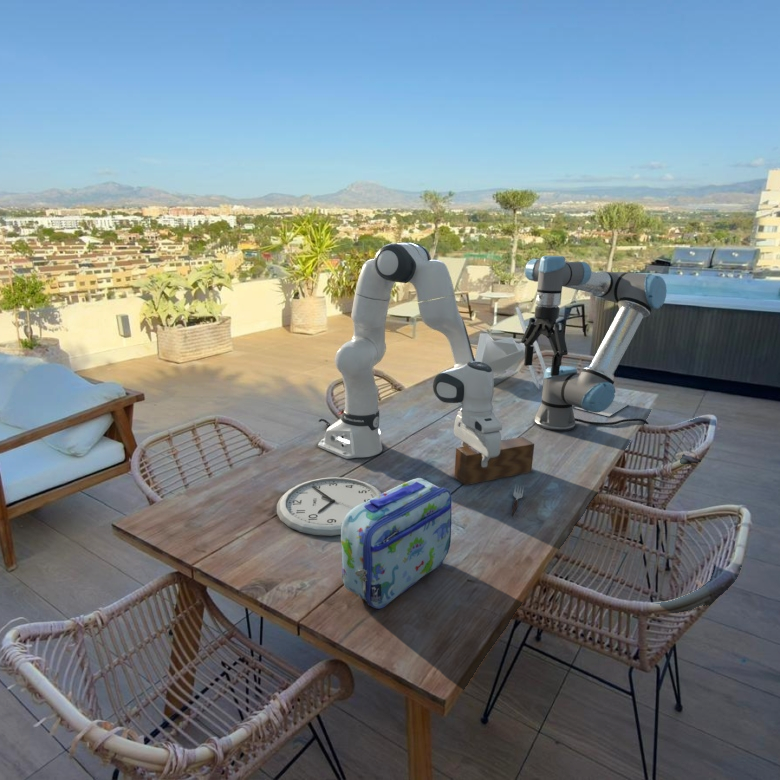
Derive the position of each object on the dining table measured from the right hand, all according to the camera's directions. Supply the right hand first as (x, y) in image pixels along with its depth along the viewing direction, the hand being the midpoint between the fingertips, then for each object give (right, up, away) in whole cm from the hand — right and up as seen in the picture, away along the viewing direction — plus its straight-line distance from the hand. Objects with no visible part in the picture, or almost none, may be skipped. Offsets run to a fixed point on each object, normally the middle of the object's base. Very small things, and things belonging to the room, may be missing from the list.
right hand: (540, 370), depth 173 cm
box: (-18, -33, -10) cm, 39 cm away
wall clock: (-66, -38, -30) cm, 82 cm away
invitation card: (+42, -14, +53) cm, 69 cm away
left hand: (-24, -28, -15) cm, 40 cm away
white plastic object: (+6, -3, +85) cm, 86 cm away
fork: (-15, -38, -28) cm, 50 cm away
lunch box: (-48, -48, -60) cm, 90 cm away
